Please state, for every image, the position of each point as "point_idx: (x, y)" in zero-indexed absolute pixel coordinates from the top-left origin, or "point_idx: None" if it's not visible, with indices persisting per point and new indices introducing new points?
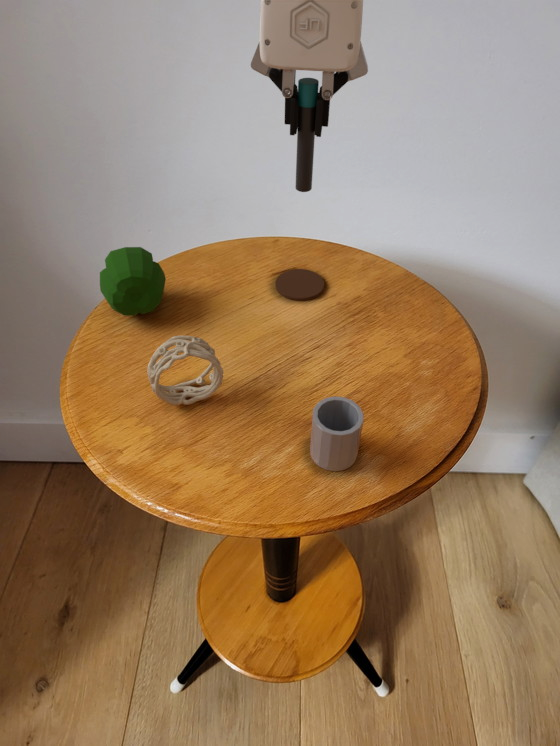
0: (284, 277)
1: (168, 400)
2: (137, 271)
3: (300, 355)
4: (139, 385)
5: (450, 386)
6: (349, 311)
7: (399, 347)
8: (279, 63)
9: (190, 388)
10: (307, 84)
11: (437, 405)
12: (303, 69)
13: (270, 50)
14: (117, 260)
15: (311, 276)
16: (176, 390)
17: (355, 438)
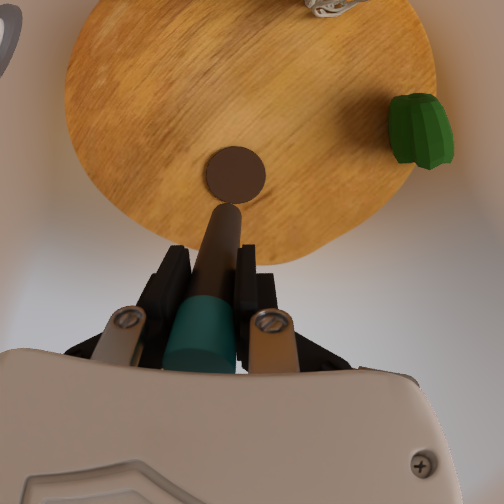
0: (255, 184)
1: None
2: (426, 109)
3: (223, 58)
4: (374, 22)
5: (85, 61)
6: (174, 137)
7: (123, 94)
8: (332, 387)
9: (328, 7)
10: (194, 349)
11: (98, 36)
12: (188, 372)
13: (398, 434)
14: (447, 131)
15: (223, 190)
16: (340, 7)
17: None
